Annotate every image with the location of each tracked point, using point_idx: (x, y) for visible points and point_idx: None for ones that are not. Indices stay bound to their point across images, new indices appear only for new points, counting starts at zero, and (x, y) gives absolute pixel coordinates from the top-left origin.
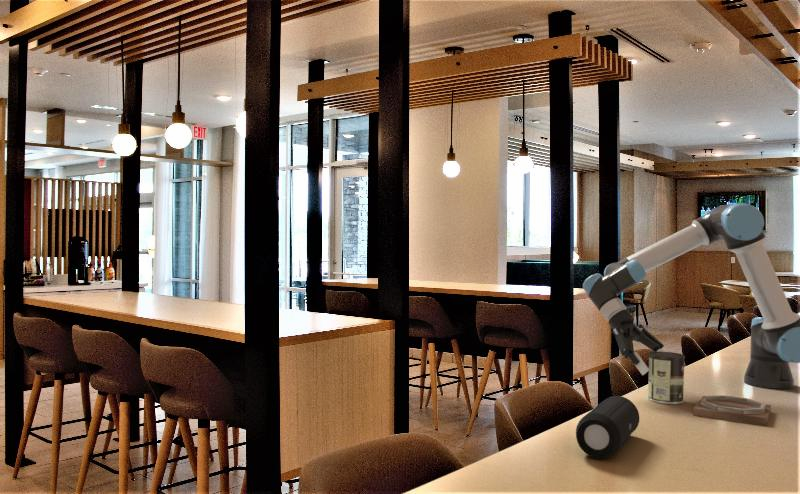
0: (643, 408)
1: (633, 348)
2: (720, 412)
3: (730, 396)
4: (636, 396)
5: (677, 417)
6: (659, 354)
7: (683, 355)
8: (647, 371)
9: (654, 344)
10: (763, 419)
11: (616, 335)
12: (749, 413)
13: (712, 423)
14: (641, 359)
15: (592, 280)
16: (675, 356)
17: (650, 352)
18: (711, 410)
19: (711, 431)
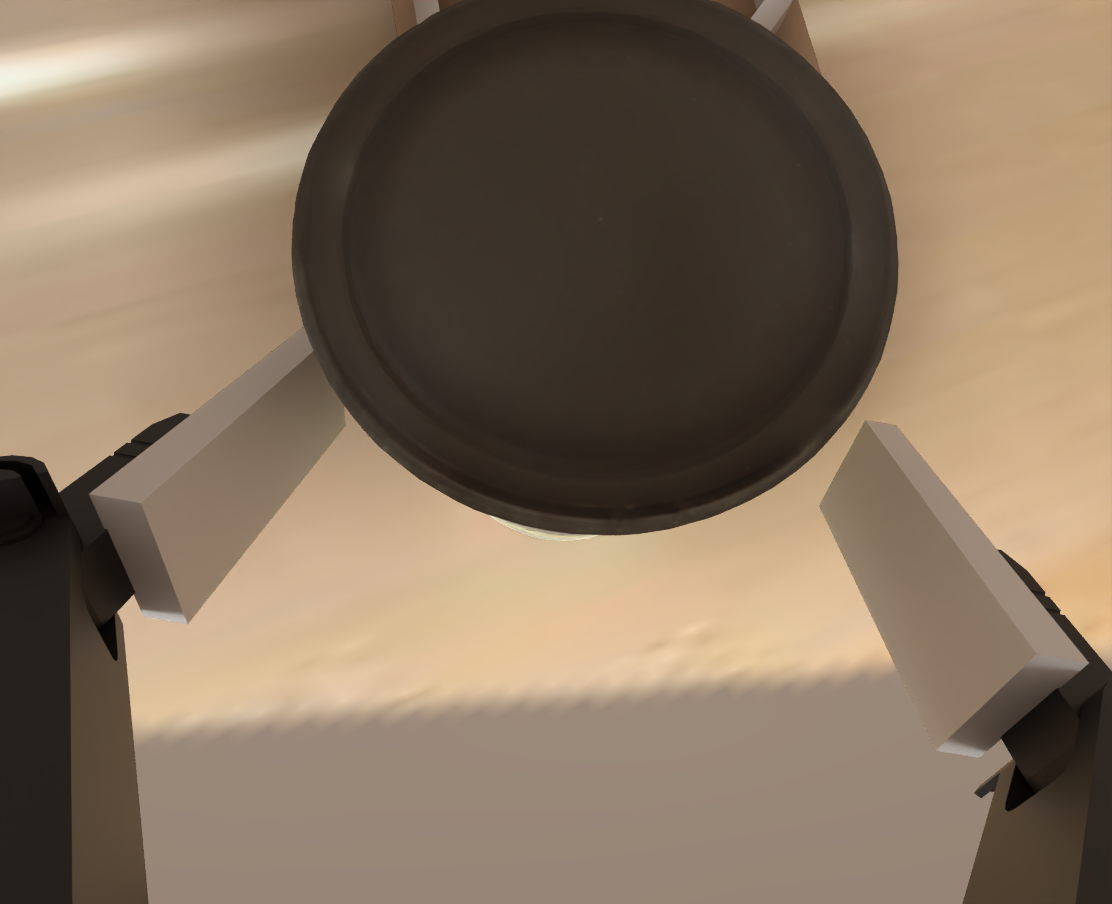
0: (908, 435)
1: (1098, 764)
2: (795, 3)
3: (424, 5)
4: (603, 625)
5: (939, 210)
6: (669, 327)
7: (479, 10)
8: (858, 449)
9: (79, 635)
10: None
11: None
12: None
13: (900, 45)
14: (954, 529)
15: None
16: (652, 78)
17: (625, 515)
18: (807, 42)
19: (1055, 9)
